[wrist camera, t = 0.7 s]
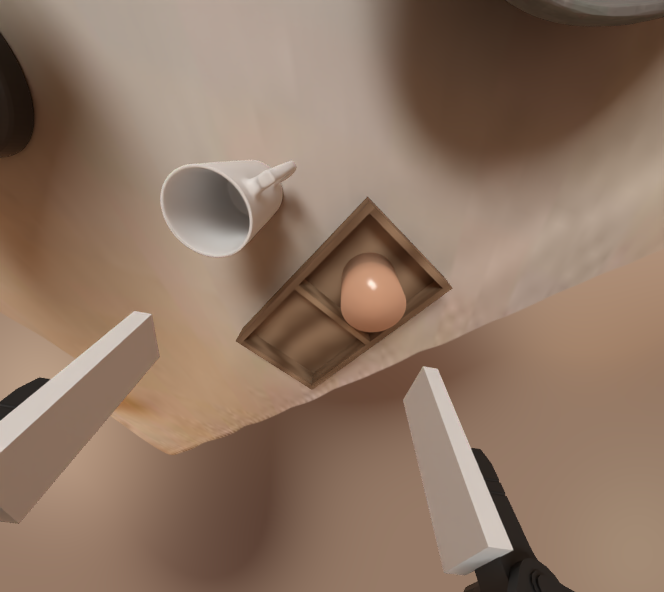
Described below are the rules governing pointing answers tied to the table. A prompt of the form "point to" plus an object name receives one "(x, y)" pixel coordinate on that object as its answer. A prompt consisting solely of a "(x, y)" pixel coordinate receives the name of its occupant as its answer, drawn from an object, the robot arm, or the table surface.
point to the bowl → (593, 11)
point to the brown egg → (371, 293)
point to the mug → (222, 203)
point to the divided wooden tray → (337, 300)
